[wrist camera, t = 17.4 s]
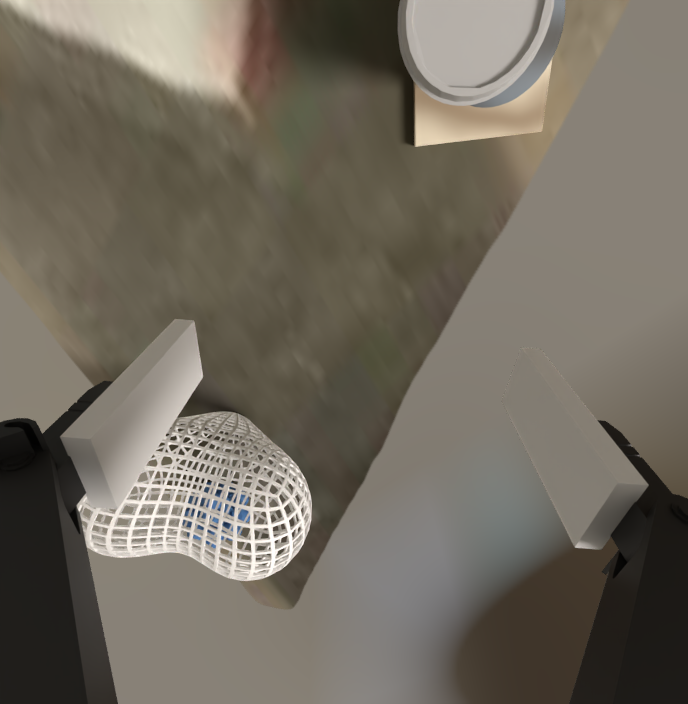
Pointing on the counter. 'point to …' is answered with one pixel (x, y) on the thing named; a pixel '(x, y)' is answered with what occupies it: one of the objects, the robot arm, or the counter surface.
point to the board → (493, 102)
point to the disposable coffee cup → (470, 45)
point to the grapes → (227, 525)
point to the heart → (211, 502)
